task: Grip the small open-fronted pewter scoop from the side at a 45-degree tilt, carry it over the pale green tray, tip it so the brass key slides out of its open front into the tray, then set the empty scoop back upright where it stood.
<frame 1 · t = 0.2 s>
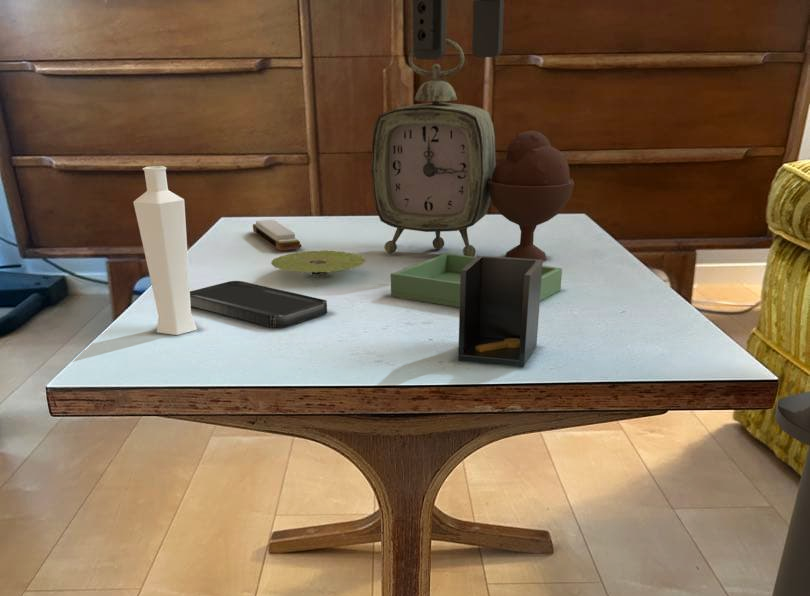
hand: (459, 58, 64), 24 cm above the table, tool pointing down, fingers open, 8 cm apart
key: (498, 347, 80), point 1 cm above the table, touching tin
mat: (319, 278, 106), on the table
phone: (256, 309, 94), on the table
tin: (498, 353, 81), on the table, touching key
ice cream bowl: (525, 259, 115), on the table
perfume bottle: (175, 331, 88), on the table
tabletop clock: (434, 253, 118), on the table
harmonica: (276, 242, 125), on the table
tray: (476, 293, 99), on the table
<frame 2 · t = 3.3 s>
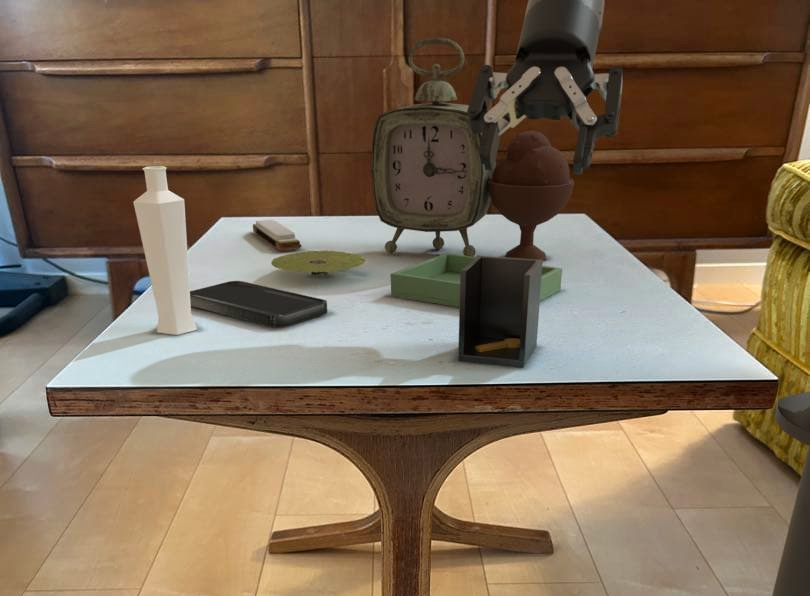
hand: (532, 166, 83), 15 cm above the table, tool tilted 45°, fingers open, 8 cm apart
nothing on the table moved.
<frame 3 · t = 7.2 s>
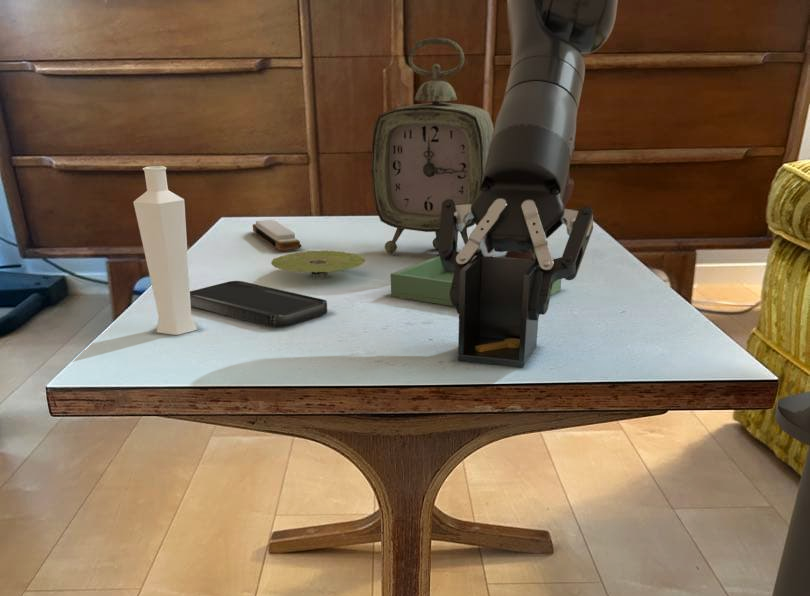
hand: (496, 312, 77), 4 cm above the table, tool tilted 45°, fingers closed on tin, 6 cm apart
tin: (497, 354, 80), on the table, touching gripper, key
everything else where it was.
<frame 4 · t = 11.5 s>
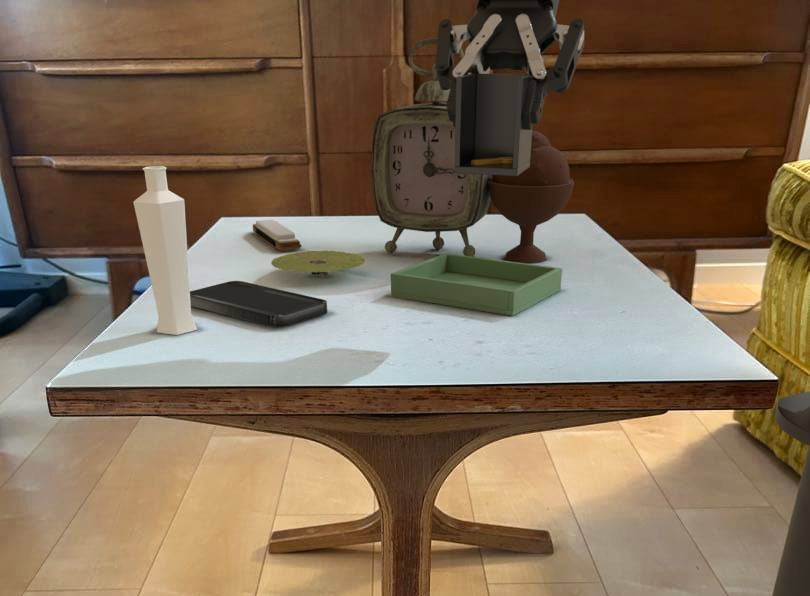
hand: (491, 122, 80), 18 cm above the table, tool tilted 45°, fingers closed on tin, 6 cm apart
key: (493, 163, 83), point 15 cm above the table, touching tin
tin: (492, 170, 84), point 14 cm above the table, touching gripper, key
everything else where it was.
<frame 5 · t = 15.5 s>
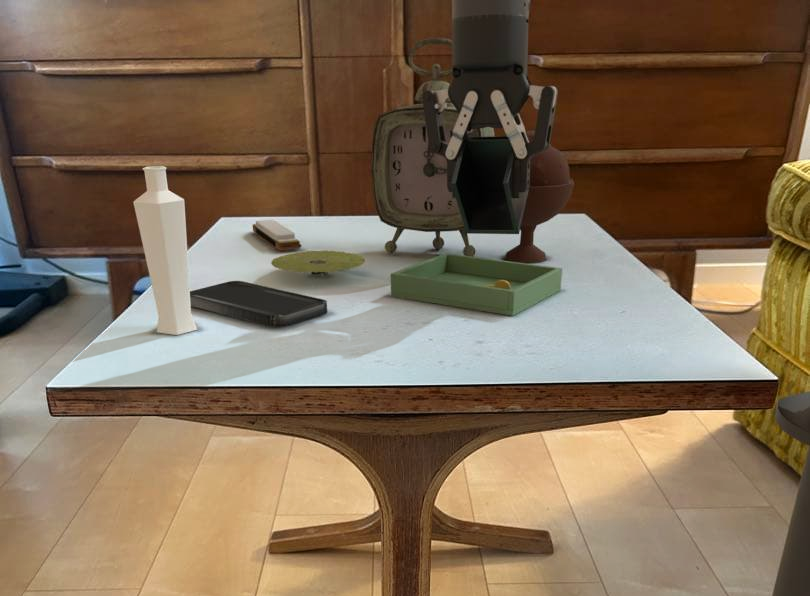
hand: (488, 196, 93), 10 cm above the table, tool pointing down, fingers closed on tin, 6 cm apart
key: (488, 289, 96), point 1 cm above the table, tilted 90°, touching tray
tin: (497, 211, 98), point 8 cm above the table, tilted 42°, touching gripper
everything else where it was.
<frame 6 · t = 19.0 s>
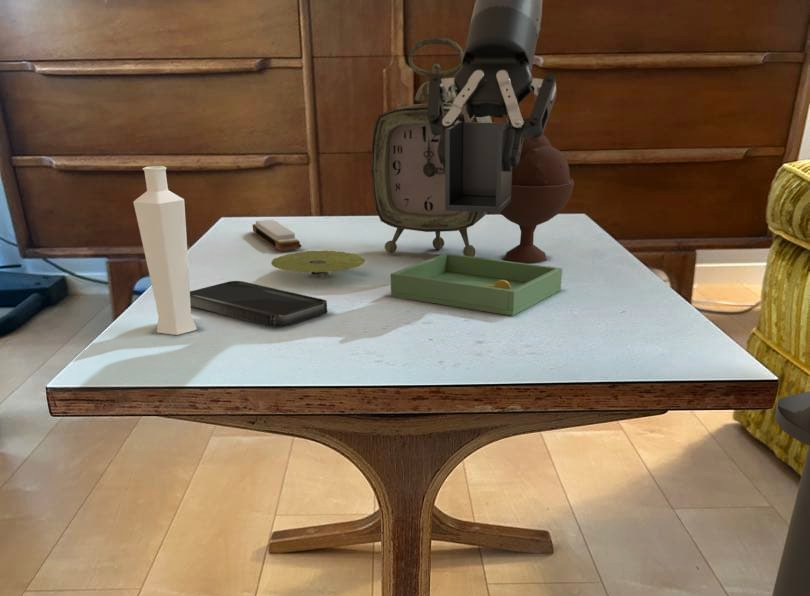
hand: (476, 165, 92), 13 cm above the table, tool tilted 45°, fingers closed on tin, 6 cm apart
tin: (478, 206, 96), point 9 cm above the table, touching gripper
everything else where it was.
when the fingers open (4 cm above the table, at t = 26.5 s): tin stays where it is, on the table.
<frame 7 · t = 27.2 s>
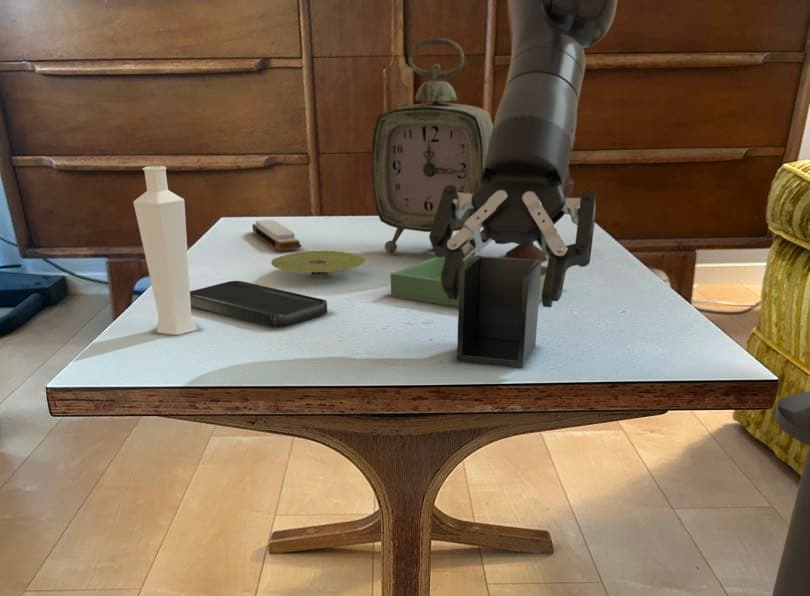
hand: (498, 298, 77), 5 cm above the table, tool tilted 45°, fingers open, 8 cm apart
tin: (496, 354, 80), on the table
everything else where it was.
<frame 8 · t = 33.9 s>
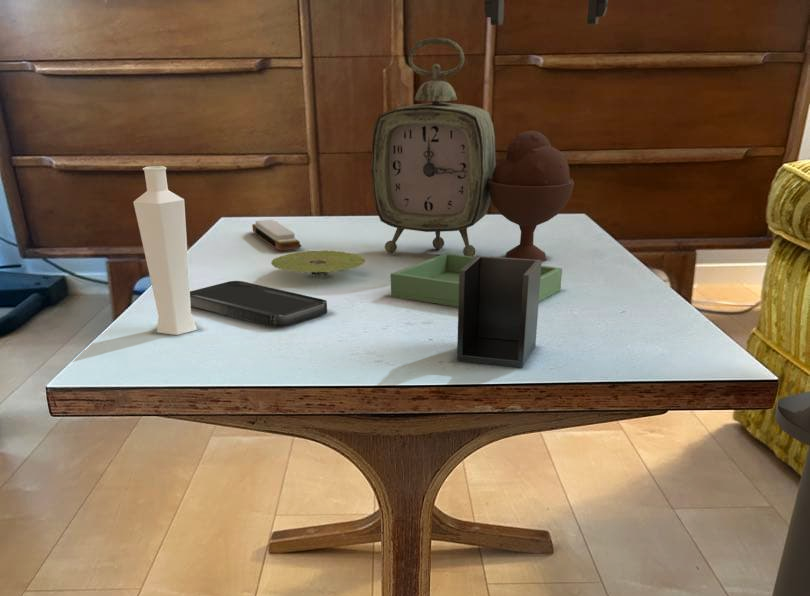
hand: (544, 24, 78), 26 cm above the table, tool pointing down, fingers open, 8 cm apart
nothing on the table moved.
at the end: key inside the target area in the tray (3.0 cm from its centre), point 1.2 cm above the tray's base; tin tilted 0°; tin inside the target area (0.1 cm from its centre), on the table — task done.
